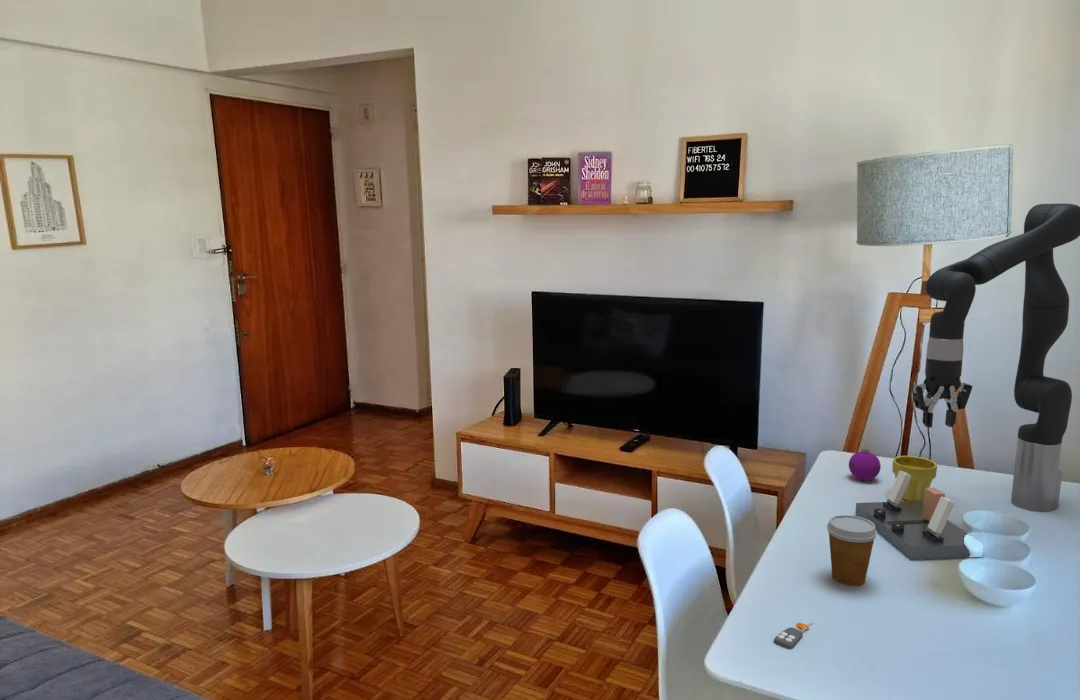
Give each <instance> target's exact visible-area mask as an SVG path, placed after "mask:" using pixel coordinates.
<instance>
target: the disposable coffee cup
mask: <svg viewBox="0 0 1080 700" xmlns="http://www.w3.org/2000/svg"><path fill="white" fill-rule="evenodd" d="M826 529H827V532H828V538H829V539H828V542H829V551H830V552H829V553H830V562H831V563H830V565H831V566H830V567H831V576H832V579H834V581H836V582H838V583H840V584H843V585H847V586H861V585H863V584H865V582H866V579H867V575H868V568H869V565H870V559H871V555H872V551H873V546H874V541H875V539H876V537H877V535H878V533H877V531H876V528H875V525H874V523H872V522H871V521H869V520H867V519H865V518H862V517H858V516H857V515H851V514H838V515H833V516H832V517H830V518H829V521H828V522H827V523H826Z"/></svg>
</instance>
